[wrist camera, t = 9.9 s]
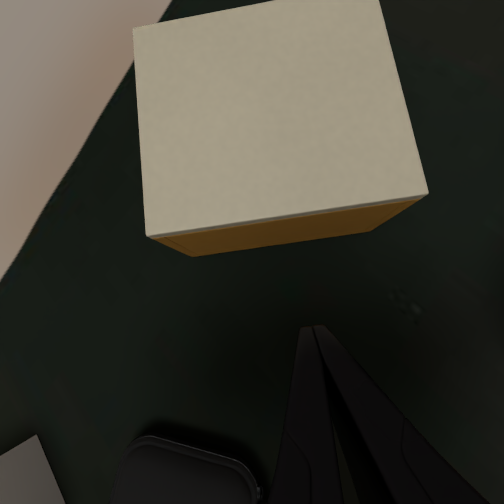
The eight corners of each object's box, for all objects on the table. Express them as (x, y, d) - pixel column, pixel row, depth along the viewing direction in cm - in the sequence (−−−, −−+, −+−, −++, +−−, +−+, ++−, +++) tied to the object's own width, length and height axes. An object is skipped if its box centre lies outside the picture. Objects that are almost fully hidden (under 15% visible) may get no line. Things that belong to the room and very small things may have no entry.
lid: (137, 38, 17) (131, 27, 16) (369, -6, 16) (374, -20, 15) (151, 238, 14) (145, 236, 14) (421, 198, 14) (430, 193, 13)
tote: (178, 121, 24) (138, 46, 16) (340, 92, 23) (372, 2, 16) (191, 257, 22) (151, 239, 14) (370, 231, 21) (421, 199, 14)
